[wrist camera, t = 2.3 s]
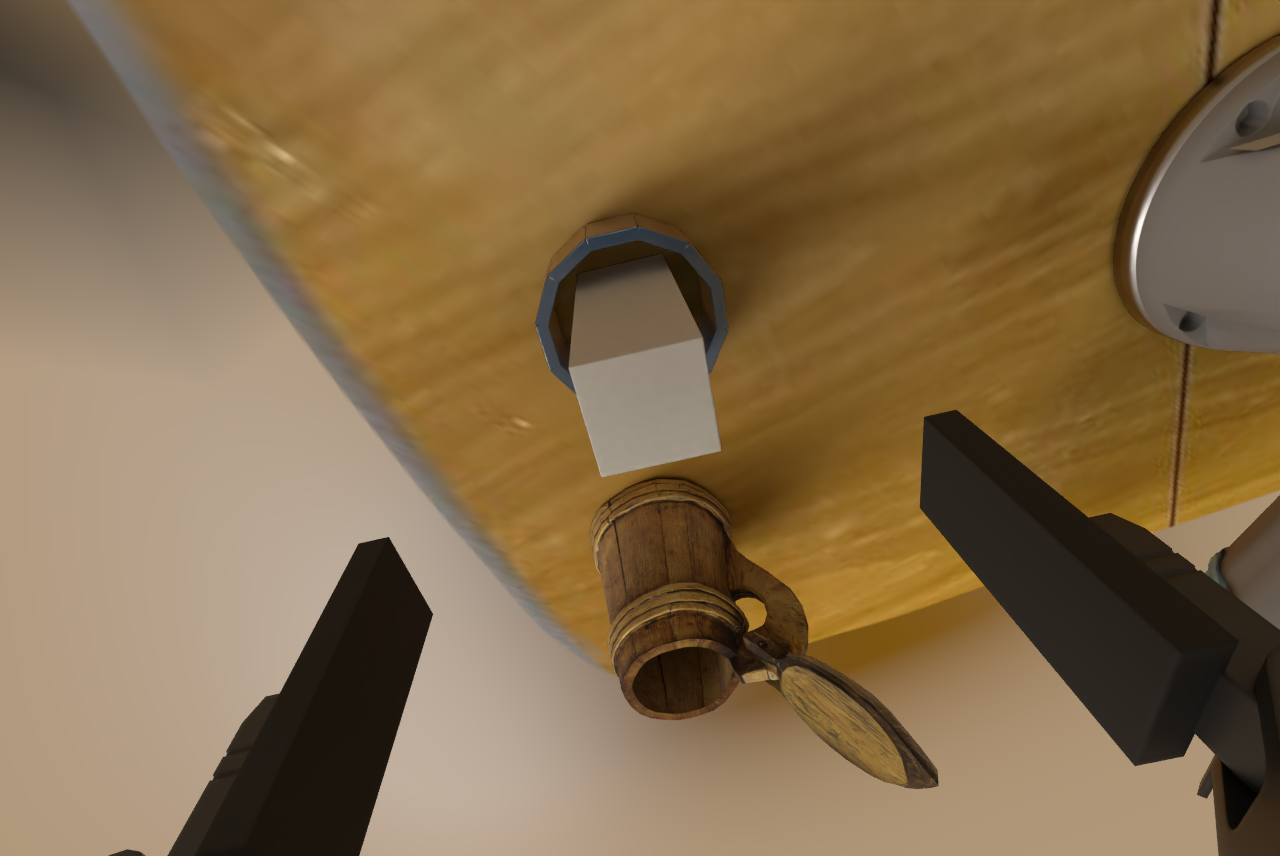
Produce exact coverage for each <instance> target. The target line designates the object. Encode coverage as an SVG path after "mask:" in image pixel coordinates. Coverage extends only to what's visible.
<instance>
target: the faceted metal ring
mask: <svg viewBox="0 0 1280 856" xmlns="http://www.w3.org/2000/svg"><path fill="white" fill-rule="evenodd" d="M636 240H638V241H641V242H644V243H647V244H650V245H654V246H657V247H660V248H663V249H666V250H669V251H672V252H675V253H679V254H681V255H682V256H683V257H684V258H685V260H686V261H687V262H688V263H689V264H690V265H691V267H692V268H693V269H694V270H695V271H696V272H697V274H698V275H699V281H700V288H701V294H702V300H703V306H704V308H703V311H702V313H701V316H700V318H699V321H698V324H697V327H698V329H699V331H700V333H701V335H702V337H703V341H704V347H705V353H706V359H707V365H708V371H709V372H711V371H712V369H713V367H714V364H715V362H716V359H717V357H718V354H719V352H720V350H721V347H722V345H723V342H724V340H725V337H726V335H727V332H728V321H727V314H726V307H725V300H724V293H723V286H722V282H721V280H720V278H719V277H718V276H717V274H716V273H715V272H714V270H713V269H712V268H711V266H710V265H709V264H708V262H707V261H706V260H705V259H704V258H703V256H702V255H701V254H700V253H699V252H698V250H697V249H696V248H695V247H694V246H693V244H692V243H691V242H690V241H689V240H688V238H687V237H686V236H685V235H684V234H683V232H682V231H681V230H680V229H678V228H677V227H674V226H671V225H668V224H665V223H662V222H659V221H656V220H653V219H650V218H647V217H644V216H641V215H638V214H632V213H631V214H627V215H622V216H618V217H614V218H610V219H606V220H601V221H597V222H593V223H589V224H587V225H586V226H583V227H582V228H581V229H580V230H579V231H578V232H577V233H576V234H575V235H574V236H573V237H572V238H571V239H570V240H569V241H568V242H567V243H566V244H565V245H564V246H563V247H562V248H561V249H560V250H559V251H558V252H557V253H556V254H555V255H554V256H553V258H552V259H551V262H550V266H549V269H548V273H547V277H546V280H545V285H544V289H543V293H542V297H541V301H540V305H539V309H538V314H537V318H536V322H535V324H536V330H537V333H538V336H539V339H540V342H541V345H542V349H543V352H544V355H545V358H546V361H547V364H548V367H549V369H550V370H551V372H552V373H553V374H554V375H555V376H556V377H557V378H559V379H560V380H561V381H562V382H563V383H564V384H565V385H566V386H567V387H568V388H570V389H571V390H572V391H573V392H574V393H575V394H576V391H575V388H574V385H573V381H572V378H571V375H570V372H569V359H570V349H571V346H570V345H569V344H567V343H566V342H565V341H564V339H563V336H562V332H561V329H560V326H559V322H558V319H557V316H556V312H555V309H554V306H553V305H554V301H555V297H556V293H557V289H558V285H559V283H560V282H561V281H562V280H563V279H564V278H565V277H566V276H567V275H568V274H569V273H570V272H571V271H572V270H573V269H574V268H575V267H576V266H577V265H578V264H579V263H580V262H581V261H582V260H583V259H584V258H585V257H586V256H587V255H588V254H589V253H590V252H591V251H594V250H599V249H603V248H607V247H611V246H615V245H620V244H624V243H628V242H632V241H636ZM709 374H710V373H709Z"/></svg>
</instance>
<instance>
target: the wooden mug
mask: <svg viewBox="0 0 1280 856" xmlns="http://www.w3.org/2000/svg"><path fill="white" fill-rule="evenodd" d="M590 538H591V545H592V552H593V556H594V561H595V565H596V568H597V570H598V571H599V573H600V575H601V577H602V582H603V587H604V592H605V597H606V602H607V607H608V613H609V618H610V624H611V626H610V628H609V633H608V638H607V645H608V649H609V653H610V657H611V661H612V665H613V669H614V672H615V674H616V675H617V676H618V677H619V679H620V684H621V689H622V692H623V694H624V696H625V698H626V700H627V701H628V702H629V704H630V706H631V707H632V708H634V709H635V710H636V711H637V712H639V713H640V714H642V715H644V716H647V717H649V718H655V719H663V720H681V719H687V718H692V717H696V716H699V715H702V714H705V713H708V712H711V711H713V710H715V709H716V708H717V707H719V706H720V705H722V704H723V703H725V702H726V700H727V699H728V697H729V696H730V695H731V693H732V692H733V691H734V689H735V688H736V687H737V685H738V682H739V681H740V682H742V683H749V682H756V681H762V680H765V681H766V682H767V683H769V684H770V685H772V686H773V687H774V688H776V689H777V690H778V691H780V692H781V693H782V695H783V696H784V697H785V698H786V700H787V701H788V702H789V704H790V705H791V706H792V708H793V709H794V710H795V711H796V713H797V714H798V715H799V716H800V717H801V718H802V719H803V721H804V722H805V723H806V724H807V725H808V726H809V727H810V728H811V729H812V730H813V731H814V732H815V733H816V734H817V735H818V736H819V737H820V738H821V739H822V740H823V741H825V742H826V743H827V744H828V745H829V746H830V747H831V748H833V749H834V750H835V751H837V752H838V753H839V754H840V755H842V756H843V757H844V758H845V759H846V760H848V761H850V762H851V763H853V764H854V765H856V766H857V767H859V768H860V769H862V770H863V771H865V772H866V773H868V774H870V775H871V776H873V777H875V778H878V779H880V780H882V781H884V782H887V783H892V784H896V785H899V786H903V787H906V788H913V789H922V788H932V787H936V786H938V771H937V769H936V767H935V766H934V765H933V763H932V762H931V761H930V759H929V758H928V757H927V755H926V754H925V753H924V752H923V750H922V749H921V748H920V746H919V745H918V744H917V743H916V742H915V740H914V739H913V738H912V737H911V736H910V734H909V733H908V732H907V731H906V729H904V727H903V726H902V725H901V724H900V722H899V721H898V720H897V719H896V718H895V716H894V715H893V714H892V713H891V712H890V711H889V710H888V709H887V708H886V707H885V706H884V705H883V704H882V703H881V702H880V701H879V700H878V699H877V698H876V697H875V696H874V695H873V694H871V693H870V692H868V691H867V690H866V689H864V688H863V687H861V686H860V685H858V684H857V683H856V682H854V681H853V680H851V679H850V678H848V677H846V676H845V675H843V674H842V673H840V672H838V671H837V670H835V669H833V668H831V667H830V666H828V665H826V664H825V663H823V662H821V661H819V660H817V659H815V658H813V657H811V656H806V652H807V647H808V623H807V620H806V616H805V613H804V609H803V606H802V604H801V603H800V602H799V600H798V599H797V597H796V596H795V595H794V593H793V592H792V590H791V589H790V588H789V587H787V586H786V585H785V584H783V583H782V582H781V581H779V580H778V579H777V578H775V577H774V576H773V575H772V574H770V573H769V572H768V571H766V570H764V569H763V568H761V567H759V566H758V565H756V564H755V563H753V562H751V561H750V560H748V559H747V558H745V557H744V556H743V555H742V554H740V553H739V552H738V551H737V550H736V548H735V546H734V544H733V542H732V525H731V519H730V516H729V514H728V512H727V510H726V509H725V508H724V507H723V506H722V504H721V503H720V502H719V501H718V500H717V499H716V498H715V497H713V496H712V495H711V494H709V493H708V492H706V491H705V490H704V489H702V488H701V487H698V486H696V485H694V484H691V483H689V482H687V481H684V480H668V479H655V480H652V481H648V482H643V483H639V484H637V485H634V486H632V487H629V488H627V489H626V490H624V491H623V492H621V493H620V494H618V495H617V496H615V497H614V498H612V499H611V500H610V501H609V502H608V503H606V504H605V505H604V506H603V507H601V508H600V510H599V512H598V513H597V515H596V517H595V518H594V520H593V522H592V525H591V536H590ZM747 597H749V598H756V599H758V600H759V601H761V602H762V603H764V604H765V608H766V611H767V617H766V620H765V623H764V624H763V626H761V627H759V628H757V629H755V630H752V631H750V632H748V628H749V622H748V620H747V619H746V617H745V615H744V613H743V612H742V611H741V609H740V608H739V607H738V606H737V605H736V603H735V601H736V600H738V599H741V598H747Z"/></svg>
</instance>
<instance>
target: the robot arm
mask: <svg viewBox="0 0 1280 856" xmlns="http://www.w3.org/2000/svg"><path fill="white" fill-rule="evenodd" d="M1113 264H1114V276H1115V281H1116V286H1117V289H1118V292H1119V295H1120V297H1121V299H1122V301H1123V304H1124V305H1125V307H1126V308H1127V310H1128V311H1129V313H1130V314H1131V315H1132V316H1133V317H1134V318H1135V319H1136V320H1137V321H1138V322H1140V323H1141V324H1142V325H1143V326H1145V327H1147V328H1148V329H1150V330H1152V331H1154V332H1156V333H1159V334H1162V335H1164V336H1167V337H1169V338H1172V339H1174V340H1177V341H1179V342H1182V343H1185V344H1189V345H1193V346H1199V347H1204V348H1209V349H1215V350H1226V351H1242V352H1258V353H1274V354H1280V35H1279V36H1277V37H1275V38H1273V39H1271V40H1269V41H1268V42H1266V43H1264V44H1262V45H1261V46H1259V47H1257V48H1256V49H1254V50H1252V51H1251V52H1249V53H1248V54H1247V55H1245V56H1244V57H1242V58H1241V59H1239V60H1238V61H1236V62H1235V63H1234V64H1232V65H1231V66H1230V67H1229V68H1227V69H1226V70H1225V71H1223V72H1222V73H1221V74H1220V75H1218V76H1217V77H1216V78H1215V79H1214V80H1213V81H1212V82H1211V83H1209V84H1208V85H1207V86H1206V87H1205V88H1204V89H1203V90H1202V91H1201V92H1200V93H1199V94H1198V95H1197V96H1196V97H1195V98H1194V99H1193V100H1192V101H1191V102H1190V103H1189V104H1188V105H1187V106H1186V107H1185V108H1184V109H1183V110H1182V112H1181V113H1180V114H1179V115H1178V116H1177V117H1176V118H1175V120H1174V121H1173V122H1172V123H1171V125H1170V126H1169V127H1168V128H1167V130H1166V131H1165V132H1164V134H1163V135H1162V136H1161V138H1160V139H1159V141H1158V142H1157V143H1156V145H1155V146H1154V148H1153V149H1152V151H1151V152H1150V154H1149V155H1148V157H1147V159H1146V161H1145V162H1144V164H1143V166H1142V167H1141V169H1140V171H1139V173H1138V175H1137V177H1136V179H1135V181H1134V183H1133V185H1132V187H1131V189H1130V191H1129V194H1128V196H1127V199H1126V201H1125V204H1124V207H1123V210H1122V213H1121V216H1120V219H1119V223H1118V227H1117V231H1116V237H1115V243H1114V256H1113ZM920 508H921V510H922V511H923V512H924V513H925V514H926V516H927V517H928V518H929V519H930V520H931V522H932V523H933V524H934V525H935V526H936V528H937V529H938V530H939V531H940V532H941V534H942V535H943V536H944V537H945V539H946V540H947V541H948V542H949V543H950V545H951V546H952V547H953V548H954V549H955V551H956V552H957V553H958V554H959V555H960V557H961V558H962V559H963V560H964V561H965V563H966V564H967V565H968V566H969V567H970V569H971V570H972V571H973V572H974V573H975V575H976V576H977V577H978V578H979V579H980V581H981V582H982V583H983V584H984V585H985V587H986V588H987V589H988V590H989V591H990V593H992V595H993V596H994V597H995V598H996V600H997V601H998V602H999V603H1000V605H1001V606H1002V607H1003V608H1004V609H1005V610H1006V612H1007V613H1008V614H1009V615H1010V616H1011V618H1012V619H1013V620H1014V621H1015V623H1016V624H1017V625H1018V626H1019V627H1020V629H1021V630H1022V631H1023V632H1024V633H1025V635H1026V636H1027V637H1028V638H1029V639H1030V641H1031V642H1032V643H1033V644H1034V645H1035V647H1036V648H1037V649H1038V650H1039V651H1040V653H1041V654H1042V655H1043V656H1044V657H1045V658H1046V660H1047V661H1048V662H1049V663H1050V665H1051V666H1052V667H1053V668H1054V669H1055V671H1056V672H1057V673H1058V674H1059V675H1060V677H1061V678H1062V679H1063V680H1064V681H1065V683H1066V684H1067V685H1068V686H1069V687H1070V689H1071V690H1072V691H1073V692H1074V693H1075V695H1076V696H1077V697H1078V698H1079V699H1080V701H1081V702H1082V703H1083V704H1084V705H1085V707H1086V708H1087V709H1088V710H1089V711H1090V713H1091V714H1092V715H1093V716H1094V717H1095V719H1096V720H1097V721H1098V722H1099V723H1100V725H1101V726H1102V727H1103V728H1104V729H1105V731H1106V732H1107V733H1108V734H1109V735H1110V737H1111V738H1112V739H1113V740H1114V742H1115V743H1116V744H1117V745H1118V746H1119V747H1120V749H1121V750H1122V751H1123V752H1124V753H1125V755H1126V756H1127V757H1128V758H1129V759H1130V761H1131V762H1132V763H1133V764H1134V765H1135V766H1138V765H1143V764H1147V763H1153V762H1158V761H1162V760H1167V759H1173V758H1177V757H1182V756H1184V755H1185V753H1186V751H1187V749H1188V747H1189V745H1190V743H1191V741H1192V738H1193V736H1194V734H1196V735H1197V736H1198V737H1199V738H1200V739H1201V740H1202V741H1203V742H1204V743H1205V744H1206V745H1207V746H1208V747H1209V748H1210V749H1211V751H1212V752H1213V753H1214V754H1215V756H1214V757H1213V759H1212V761H1211V763H1210V765H1209V767H1208V769H1207V771H1206V773H1205V774H1204V777H1203V778H1202V780H1201V782H1200V786H1199V789H1198V793H1197V795H1199V796H1202V797H1205V798H1208V796H1209V794H1210V792H1211V790H1212V789H1213V795H1214V806H1215V818H1216V829H1217V841H1218V853H1219V856H1280V496H1279V497H1278V498H1277V499H1276V500H1275V501H1274V502H1273V503H1272V504H1271V505H1270V506H1269V507H1268V508H1267V509H1266V510H1265V511H1264V512H1263V513H1262V514H1261V515H1260V516H1259V517H1258V518H1257V519H1256V520H1255V521H1254V522H1253V523H1252V524H1251V525H1250V526H1249V527H1248V528H1247V529H1246V530H1245V531H1244V532H1243V533H1242V534H1241V535H1240V536H1239V537H1238V538H1237V539H1236V540H1235V541H1234V542H1233V544H1231V546H1230V547H1226V548H1224V549H1222V550H1221V551H1220V552H1218V553H1216V554H1215V555H1214V556H1213V557H1211V559H1210V562H1209V565H1208V571H1207V572H1206V573H1204V572H1202V571H1201V570H1200V571H1197V570H1196V569H1195V566H1194V565H1193V564H1191V563H1190V562H1189V561H1188V560H1186V559H1185V558H1184V557H1182V556H1181V555H1180V554H1178V553H1173V551H1172V548H1170V547H1169V546H1168V545H1166V544H1165V543H1164V542H1162V541H1161V540H1160V539H1158V538H1157V537H1155V535H1153V534H1152V533H1151V532H1149V531H1148V530H1147V529H1145V528H1143V527H1141V526H1139V525H1136V524H1134V523H1132V522H1130V521H1127V520H1125V519H1123V518H1121V517H1118V516H1116V515H1114V514H1112V513H1108V514H1104V515H1099V516H1094V517H1090V518H1088V517H1087V516H1086V515H1085V514H1083V513H1082V512H1081V511H1080V510H1079V509H1077V508H1076V507H1075V506H1074V505H1072V504H1071V503H1070V502H1069V501H1068V500H1066V499H1065V498H1064V497H1063V496H1061V495H1060V494H1059V493H1058V492H1056V491H1055V490H1054V489H1053V488H1052V487H1050V486H1049V485H1048V484H1047V483H1045V482H1044V481H1043V480H1042V479H1041V478H1039V477H1038V476H1037V475H1036V474H1034V473H1033V472H1032V471H1031V470H1030V469H1028V468H1027V467H1026V466H1025V465H1023V464H1022V463H1021V462H1020V461H1019V460H1017V459H1016V458H1015V457H1014V456H1012V455H1011V454H1010V453H1009V452H1008V451H1006V450H1005V449H1004V448H1003V447H1001V446H1000V445H999V444H998V443H996V442H995V441H994V440H993V439H992V438H990V437H989V436H988V435H987V434H985V433H984V432H983V431H982V430H981V429H979V428H978V427H977V426H976V425H974V424H973V423H972V422H971V421H970V420H968V419H967V418H966V417H965V416H963V415H962V414H961V413H960V412H959V411H957V410H953V411H949V412H944V413H940V414H936V415H931V416H927V417H924V430H923V451H922V473H921V494H920ZM432 616H433V613H432V611H431V610H430V608H429V606H428V605H427V603H426V601H425V599H424V597H423V596H422V594H421V592H420V591H419V589H418V587H417V585H416V584H415V582H414V580H413V578H412V577H411V575H410V573H409V571H408V570H407V568H406V566H405V564H404V563H403V561H402V559H401V558H400V556H399V554H398V552H397V551H396V549H395V547H394V545H393V544H392V542H391V540H390V538H389V537H387V538H382V539H378V540H373V541H369V542H365V543H360V544H358V546H357V548H356V550H355V552H354V554H353V555H352V557H351V559H350V561H349V563H348V565H347V567H346V569H345V571H344V572H343V574H342V576H341V578H340V580H339V582H338V584H337V586H336V588H335V590H334V592H333V593H332V595H331V597H330V599H329V601H328V603H327V605H326V607H325V609H324V610H323V613H322V615H321V616H320V618H319V620H318V622H317V624H316V626H315V628H314V630H313V632H312V633H311V635H310V637H309V639H308V641H307V643H306V645H305V647H304V648H303V651H302V652H301V654H300V656H299V658H298V660H297V662H296V664H295V666H294V668H293V669H292V671H291V673H290V675H289V677H288V679H287V681H286V683H285V685H284V686H283V688H282V690H281V692H280V694H276V695H271V696H266V697H265V698H264V699H263V700H262V701H261V703H260V704H259V705H258V706H257V707H256V708H255V709H254V710H253V712H252V713H251V714H250V715H249V716H248V717H247V718H246V719H245V721H244V722H243V723H242V724H241V726H240V728H239V730H238V732H237V733H236V735H235V737H234V739H233V741H232V742H231V744H230V746H229V748H228V749H227V755H226V757H223V758H222V760H221V762H220V764H219V765H218V767H217V769H216V771H215V772H214V774H213V776H214V778H213V780H212V781H209V783H208V785H207V787H206V788H205V790H204V792H203V794H202V796H201V798H200V799H199V801H198V803H197V804H196V806H195V808H194V810H193V811H192V813H191V815H190V817H189V819H188V820H187V822H186V824H185V826H184V828H183V830H182V831H181V833H180V835H179V837H178V838H177V840H176V842H175V843H174V845H173V847H172V849H171V851H170V852H169V854H168V856H359V855H360V851H361V848H362V845H363V841H364V838H365V835H366V832H367V828H368V825H369V822H370V818H371V815H372V812H373V809H374V806H375V802H376V799H377V796H378V792H379V789H380V786H381V782H382V779H383V776H384V773H385V770H386V766H387V763H388V760H389V756H390V753H391V750H392V747H393V743H394V740H395V737H396V734H397V730H398V727H399V724H400V720H401V717H402V714H403V710H404V707H405V704H406V701H407V697H408V694H409V691H410V688H411V685H412V681H413V678H414V675H415V671H416V668H417V665H418V661H419V658H420V655H421V652H422V648H423V645H424V642H425V639H426V635H427V632H428V629H429V626H430V622H431V619H432ZM109 856H145V855H144V854H143V853H141V852H139V851H133V850H124V851H121V852H118V853H115V854H112V855H109Z"/></svg>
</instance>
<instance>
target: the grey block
mask: <svg viewBox="0 0 1280 856" xmlns="http://www.w3.org/2000/svg"><path fill="white" fill-rule="evenodd" d="M569 372H570V375H571V378H572V381H573V385H574V388H575V391H576V395H577V398H578V401H579V405H580V408H581V411H582V414H583V418H584V421H585V424H586V428H587V431H588V434H589V438H590V441H591V444H592V448H593V451H594V454H595V457H596V461H597V464H598V467H599V471H600V474H601V476H602V477H606V476H610V475H615V474H619V473H624V472H629V471H633V470H638V469H642V468H647V467H651V466H656V465H660V464H665V463H669V462H674V461H678V460H683V459H688V458H692V457H697V456H701V455H706V454H710V453H715V452H719V451H721V450H722V449H721V443H720V437H719V431H718V425H717V419H716V413H715V407H714V401H713V395H712V389H711V383H710V377H709V371H708V365H707V359H706V353H705V347H704V341H703V337H702V335H701V333H700V331H699V329H698V327H697V325H696V323H695V320H694V318H693V316H692V314H691V312H690V310H689V308H688V306H687V304H686V302H685V300H684V298H683V296H682V294H681V292H680V290H679V287H678V285H677V283H676V281H675V279H674V277H673V275H672V273H671V271H670V269H669V267H668V265H667V263H666V261H665V259H664V257H663V255H662V254H659V255H654V256H650V257H646V258H642V259H637V260H633V261H629V262H625V263H620V264H616V265H612V266H608V267H603V268H599V269H595V270H591V271H586V272H582V273H578V274H577V283H576V294H575V305H574V316H573V327H572V338H571V349H570V359H569Z"/></svg>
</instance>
